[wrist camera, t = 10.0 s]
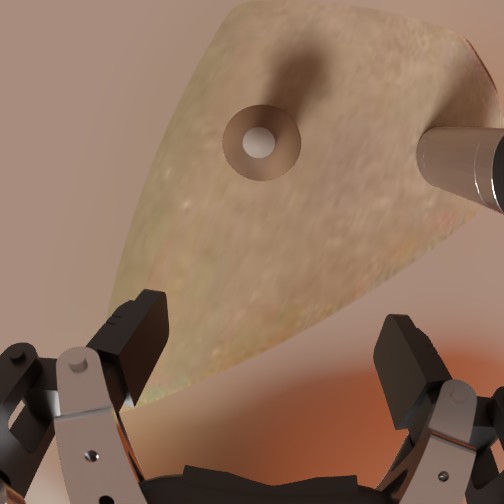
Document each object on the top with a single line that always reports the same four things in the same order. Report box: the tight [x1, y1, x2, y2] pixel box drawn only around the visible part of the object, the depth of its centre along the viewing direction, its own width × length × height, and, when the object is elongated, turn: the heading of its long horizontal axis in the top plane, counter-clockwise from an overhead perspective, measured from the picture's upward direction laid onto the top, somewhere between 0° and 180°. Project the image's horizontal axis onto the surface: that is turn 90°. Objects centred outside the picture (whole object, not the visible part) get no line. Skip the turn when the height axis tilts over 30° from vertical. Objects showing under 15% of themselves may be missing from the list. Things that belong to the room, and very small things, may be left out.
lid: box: [222, 105, 301, 181], centre depth 25 cm, size 8×8×5 cm
